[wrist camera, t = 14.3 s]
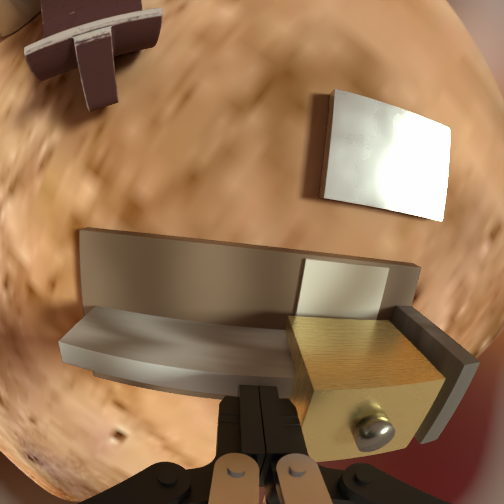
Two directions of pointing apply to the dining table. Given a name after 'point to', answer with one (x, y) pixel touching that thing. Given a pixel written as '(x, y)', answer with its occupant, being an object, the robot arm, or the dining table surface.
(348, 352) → the block with knob
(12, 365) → the dining table surface
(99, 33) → the bracket
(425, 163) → the gray metal plate
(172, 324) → the rail
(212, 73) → the dining table surface
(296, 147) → the dining table surface
